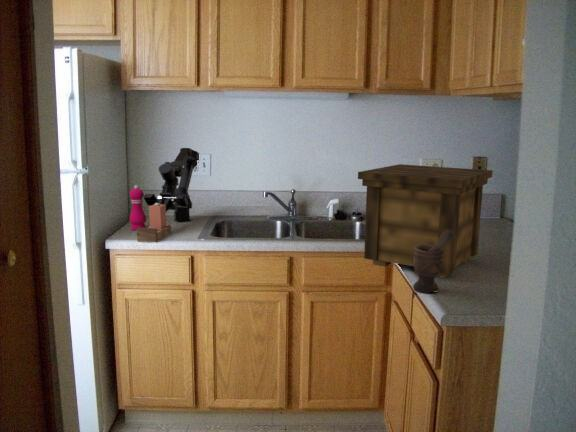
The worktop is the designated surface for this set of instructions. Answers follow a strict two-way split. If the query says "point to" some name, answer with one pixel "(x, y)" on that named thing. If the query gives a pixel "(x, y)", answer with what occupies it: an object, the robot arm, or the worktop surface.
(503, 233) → the worktop surface
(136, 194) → the pepper mill
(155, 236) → the brown wooden box
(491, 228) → the worktop surface
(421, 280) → the mortar and pestle
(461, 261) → the crate
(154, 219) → the salmon orange block
